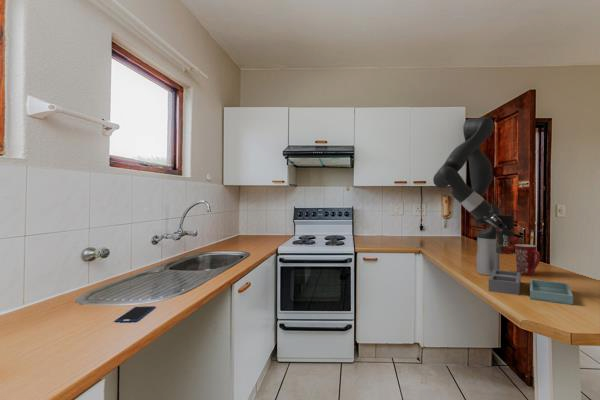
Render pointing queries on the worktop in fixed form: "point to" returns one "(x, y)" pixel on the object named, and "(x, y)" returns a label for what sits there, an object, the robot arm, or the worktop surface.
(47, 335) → the worktop surface
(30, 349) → the worktop surface
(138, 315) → the cell phone
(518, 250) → the mug
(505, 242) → the deodorant
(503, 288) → the holder
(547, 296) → the tray
